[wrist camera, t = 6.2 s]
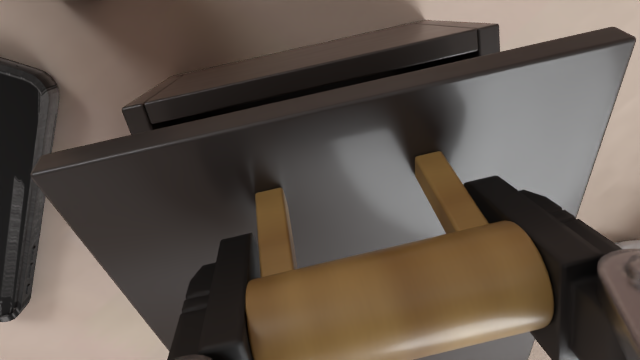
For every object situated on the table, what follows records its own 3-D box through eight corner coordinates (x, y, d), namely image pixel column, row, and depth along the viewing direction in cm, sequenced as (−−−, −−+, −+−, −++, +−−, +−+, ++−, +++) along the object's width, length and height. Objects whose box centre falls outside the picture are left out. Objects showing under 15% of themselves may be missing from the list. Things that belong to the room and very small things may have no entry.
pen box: (170, 76, 22) (119, 108, 15) (425, 19, 22) (500, 23, 15) (253, 324, 28) (247, 432, 21) (450, 278, 28) (511, 368, 21)
